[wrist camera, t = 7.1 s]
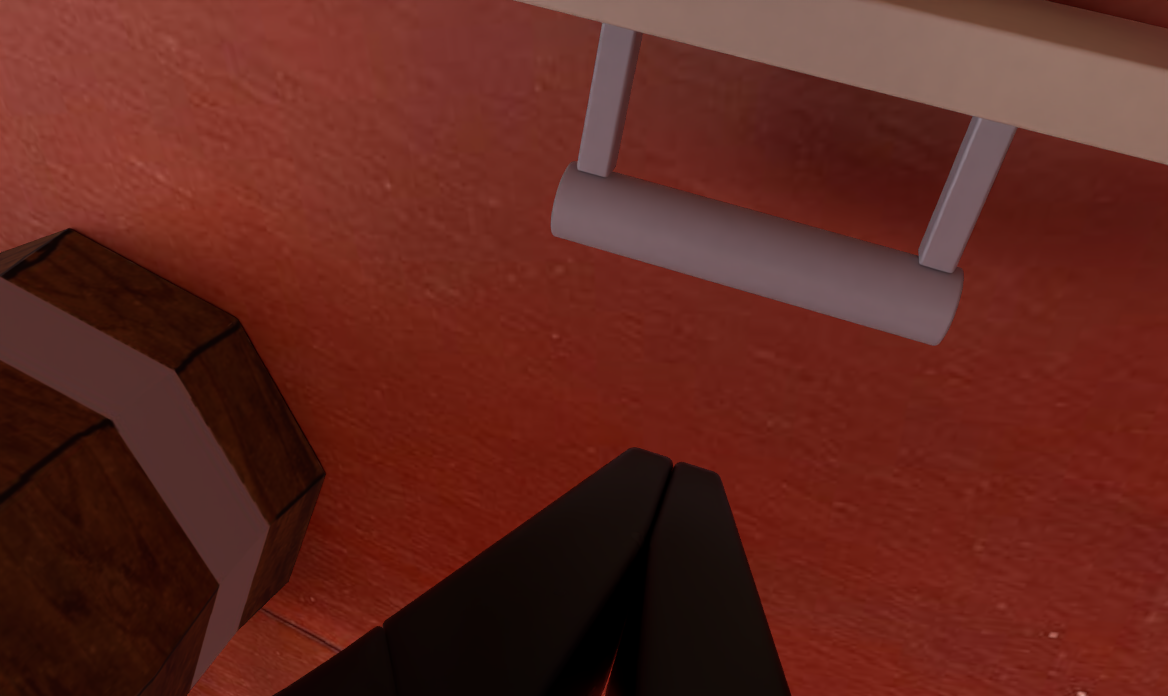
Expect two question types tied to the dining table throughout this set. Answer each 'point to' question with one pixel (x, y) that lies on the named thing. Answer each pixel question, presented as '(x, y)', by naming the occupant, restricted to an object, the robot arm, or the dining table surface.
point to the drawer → (879, 63)
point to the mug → (133, 477)
